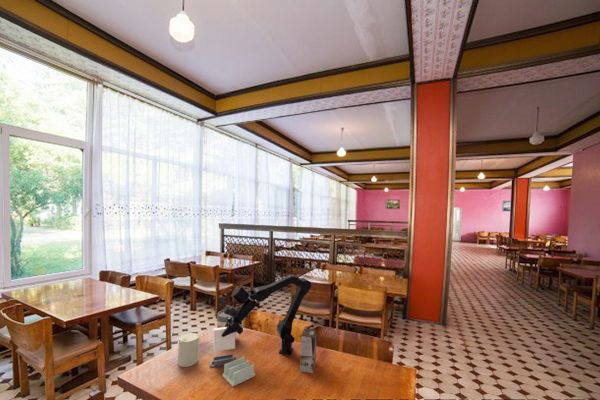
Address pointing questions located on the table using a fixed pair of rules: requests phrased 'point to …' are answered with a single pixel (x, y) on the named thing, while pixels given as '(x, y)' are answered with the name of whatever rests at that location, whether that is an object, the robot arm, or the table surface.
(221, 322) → the reusable coffee cup
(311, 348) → the coffee box
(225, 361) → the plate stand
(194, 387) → the table surface
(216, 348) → the white block
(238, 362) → the dish rack
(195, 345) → the can
